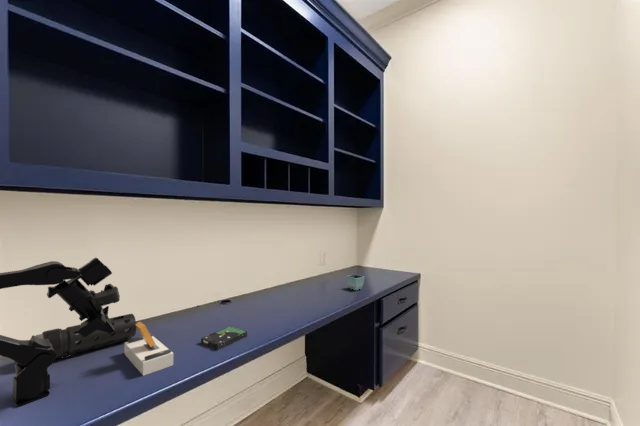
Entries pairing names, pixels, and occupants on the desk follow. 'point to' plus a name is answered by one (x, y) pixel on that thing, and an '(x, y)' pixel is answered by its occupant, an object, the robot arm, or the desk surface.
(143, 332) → the lever
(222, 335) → the disk drive
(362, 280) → the flower pot
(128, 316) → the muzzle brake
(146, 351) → the block
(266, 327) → the desk surface
